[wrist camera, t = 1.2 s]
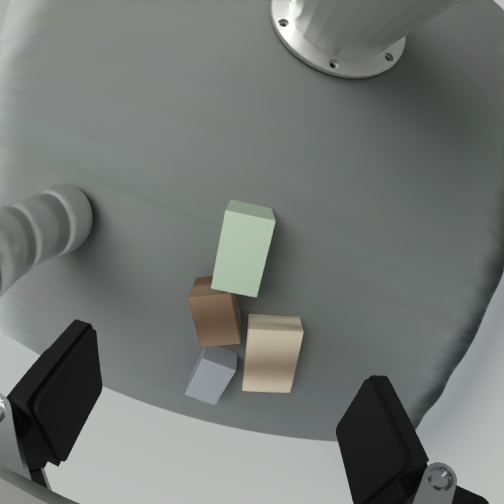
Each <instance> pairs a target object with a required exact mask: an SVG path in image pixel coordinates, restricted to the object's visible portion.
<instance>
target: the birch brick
mask: <svg viewBox="0 0 504 504" xmlns="http://www.w3.org/2000/svg"><path fill="white" fill-rule="evenodd" d="M303 333H304V331H303V327H302V324H301V320H300V317H294V316H276V315H261V314H249V317H248V327H247V338H246V348H245V359H244V370H243V387H242V391H255V392H279V393H290V391H291V386H292V382H293V378H294V374H295V369H296V365H297V361H298V356H299V352H300V347H301V342H302V338H303Z"/></svg>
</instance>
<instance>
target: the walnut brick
mask: <svg viewBox="0 0 504 504" xmlns="http://www.w3.org/2000/svg"><path fill="white" fill-rule="evenodd" d="M212 279H213V276H210V277H201V278H196V280H195V282H194V285H193V287H192V289H191V292H190V294H189V296H188V300H189V304H190V307H191V311H192V315H193V319H194V323H195V327H196V330H197V334H198V338H199V341H200V345H201V347H206V346H220V345H232V344H240V339H241V325H242V319H241V313H240V307H239V302H238V296H237V294H236V293H231V292H226V291H221V290H216V289H211V285H212Z"/></svg>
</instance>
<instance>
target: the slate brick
mask: <svg viewBox="0 0 504 504" xmlns="http://www.w3.org/2000/svg"><path fill="white" fill-rule="evenodd" d="M236 365H237V353H235V352H232V351H230V350H227V349H224V348H222V347H219V346H206V347H203V349H202V352H201V354H200V356H199V358H198V360H197V362H196V364H195V366H194V368H193V370H192V372H191V374H190V376H189V379H188V383H187V387H186V390H185V395H187V396H190V397H193V398H195V399H198V400H201V401H204V402H207V403H210V404H213V405H215V404H216V402H217V401H218V399H219V397H220V396H221V394H222V393H223V391H224V389H225V388H226V386H227V385H228V383H229V381H230V380H231V378H232V376H233V375H234V373H235V371H236Z"/></svg>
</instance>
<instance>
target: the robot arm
mask: <svg viewBox="0 0 504 504" xmlns="http://www.w3.org/2000/svg"><path fill="white" fill-rule="evenodd" d="M460 1H462V0H271V5H270V16H271V20H272V24H273V27H274V29H275V31H276V33H277V35H278V37H279V39H280V40H281V41H282V43H283V44H284V45H285V47H286V48H287V49H289V50H290V51H291V52H292V53H293V54H294V55H295V56H296V57H297V58H299V59H300V60H302V61H303V62H304V63H306V64H307V65H309V66H311V67H313V68H315V69H317V70H319V71H322V72H325V73H327V74H330V75H333V76H338V77H343V78H358V79H359V78H366V77H372V76H375V75H377V74H380V73H382V72H384V71H386V70H387V69H389V68H391V67H392V66H393V65H394V64H395V63H396V62H397V61H398V60H399V58H400V57H401V55H402V53H403V50H404V48H405V42H406V35H407V34H409V33H410V32H412V31H413V30H415V29H416V28H418V27H420V26H421V25H423V24H424V23H426V22H427V21H429V20H431V19H432V18H434V17H435V16H437V15H439V14H440V13H442V12H443V11H445V10H447V9H448V8H450V7H452V6H454V5H455V4H457V3H459V2H460ZM281 25H284V26H285V27H282V26H281ZM386 59H387V60H386ZM329 64H332V65H333V66H334V68H332V67H330V65H329ZM101 391H102V378H101V371H100V363H99V355H98V345H97V334H96V330H94V329H93V328H92V325H91V324H89V323H86V322H83V321H80V320H74V321H73V322H72V323H71V324H70V325H69V327H68V328H67V329H66V330H65V331H64V332H63V333H62V334H61V335H60V336H59V338H58V339H57V340H56V341H55V342H54V343H53V344H52V345H51V347H50V348H49V349H47V350H46V351H45V352H44V353H43V354H42V355H41V356H40V357H39V358H38V360H37V361H36V362H35V363H34V364H33V365H32V367H31V368H30V369H29V370H28V371H27V373H26V374H25V375H24V376H23V377H22V379H21V380H20V381H19V382H18V383H17V385H16V386H15V387H14V388H13V390H12V391H11V393H10V394H9V395H8V396H7V397H5V396H3V395H2V394H0V504H79V503H76V502H74V501H72V500H70V499H67V498H65V497H63V496H61V495H59V494H57V493H55V492H53V491H52V490H51V487H50V485H49V482H48V479H47V476H46V473H45V470H44V467H45V466H46V463H47V462H50V463H52V464H55V465H56V466H59V464H60V462H61V461H66V460H67V458H68V456H69V454H70V452H71V450H72V447H73V446H74V444H75V441H76V440H77V438H78V436H79V434H80V431H81V430H82V427H83V426H84V424H85V422H86V420H87V418H88V416H89V414H90V412H91V410H92V409H93V407H94V405H95V403H96V401H97V399H98V397H99V396H100V394H101ZM336 435H337V439H338V443H339V446H340V450H341V455H342V458H343V463H344V466H345V471H346V475H347V479H348V483H349V487H350V491H351V495H352V500H353V503H354V504H489V503H488V501H487V500H486V499H484V498H483V497H481V496H479V495H477V494H475V493H472V492H470V491H468V490H465V489H463V488H461V487H459V486H457V485H456V484H457V478H456V474H455V473H454V471H453V470H452V469H451V468H450V467H449V466H448V465H446V464H444V463H440V462H439V463H433V464H430V465H429V466H427V462H428V461H429V459H428V457H427V455H426V453H425V450H424V448H423V446H422V444H421V442H420V440H419V438H418V436H417V434H416V432H415V430H414V428H413V425H412V423H411V421H410V419H409V417H408V415H407V413H406V411H405V409H404V408H403V406H402V404H401V402H400V400H399V398H398V396H397V394H396V392H395V390H394V388H393V386H392V384H391V383H390V381H389V379H388V377H386V376H375V375H373V376H370V377H369V378H368V379H366V380H365V381H364V382H363V384H362V386H361V388H360V389H359V391H358V393H357V395H356V396H355V398H354V400H353V401H352V403H351V405H350V406H349V408H348V409H347V411H346V413H345V414H344V416H343V417H342V419H341V420H340V422H339V424H338V425H337V428H336Z"/></svg>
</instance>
